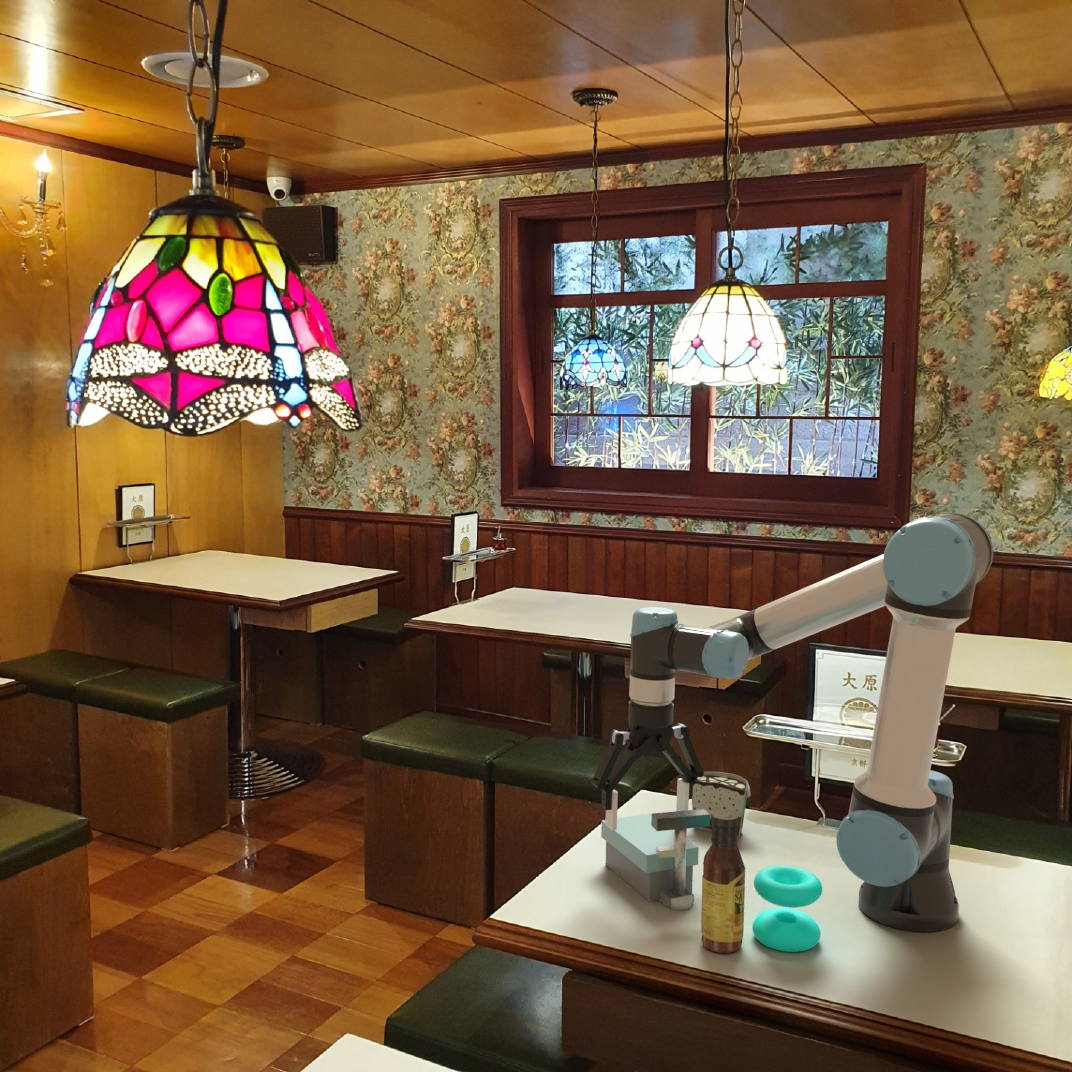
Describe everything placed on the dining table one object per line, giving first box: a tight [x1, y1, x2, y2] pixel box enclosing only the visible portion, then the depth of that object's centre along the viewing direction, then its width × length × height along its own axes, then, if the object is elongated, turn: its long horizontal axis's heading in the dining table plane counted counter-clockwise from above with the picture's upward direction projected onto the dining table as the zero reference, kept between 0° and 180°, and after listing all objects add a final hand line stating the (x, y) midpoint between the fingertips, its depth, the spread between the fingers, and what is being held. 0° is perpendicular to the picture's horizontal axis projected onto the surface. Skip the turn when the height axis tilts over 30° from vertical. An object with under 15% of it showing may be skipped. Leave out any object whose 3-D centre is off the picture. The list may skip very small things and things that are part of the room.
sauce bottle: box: [700, 811, 746, 954], centre depth 161 cm, size 6×6×20 cm
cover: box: [600, 813, 699, 873], centre depth 185 cm, size 17×10×3 cm, turn 23°
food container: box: [691, 771, 752, 838], centre depth 209 cm, size 12×6×10 cm, turn 58°
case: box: [605, 840, 695, 911], centre depth 183 cm, size 21×8×5 cm, turn 23°
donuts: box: [751, 864, 823, 953], centre depth 164 cm, size 10×10×10 cm
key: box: [651, 809, 710, 895], centre depth 175 cm, size 9×2×13 cm, turn 105°
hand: (646, 822), depth 185 cm, fingers open, 13 cm apart
